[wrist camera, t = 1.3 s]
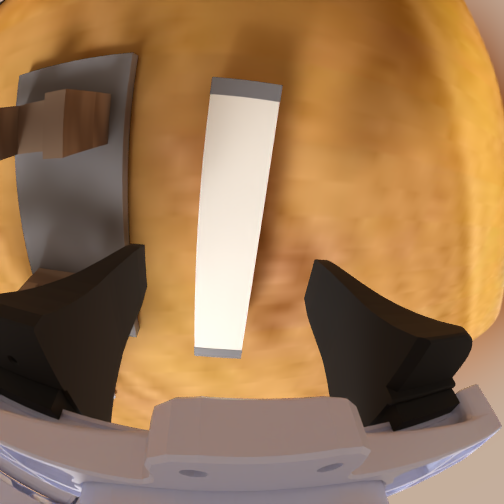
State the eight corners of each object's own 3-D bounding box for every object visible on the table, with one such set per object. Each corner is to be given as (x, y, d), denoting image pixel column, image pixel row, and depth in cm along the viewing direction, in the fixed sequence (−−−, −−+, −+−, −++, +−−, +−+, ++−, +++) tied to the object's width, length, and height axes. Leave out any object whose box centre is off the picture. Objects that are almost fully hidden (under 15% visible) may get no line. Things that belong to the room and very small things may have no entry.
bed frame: (139, 329, 21) (121, 386, 16) (51, 313, 20) (23, 358, 15) (138, 55, 12) (94, 31, 7) (27, 75, 11) (-30, 75, 6)
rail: (238, 319, 21) (240, 358, 18) (198, 316, 21) (194, 355, 17) (270, 93, 14) (282, 85, 10) (217, 87, 14) (212, 77, 10)
